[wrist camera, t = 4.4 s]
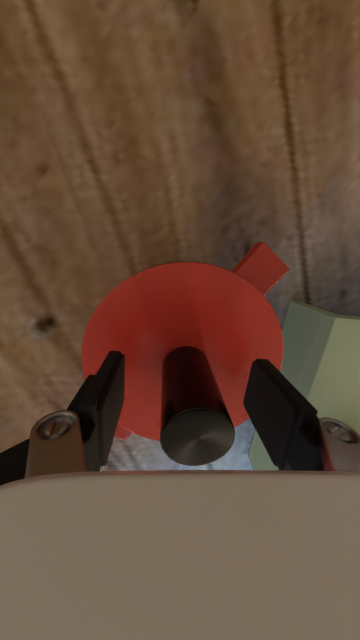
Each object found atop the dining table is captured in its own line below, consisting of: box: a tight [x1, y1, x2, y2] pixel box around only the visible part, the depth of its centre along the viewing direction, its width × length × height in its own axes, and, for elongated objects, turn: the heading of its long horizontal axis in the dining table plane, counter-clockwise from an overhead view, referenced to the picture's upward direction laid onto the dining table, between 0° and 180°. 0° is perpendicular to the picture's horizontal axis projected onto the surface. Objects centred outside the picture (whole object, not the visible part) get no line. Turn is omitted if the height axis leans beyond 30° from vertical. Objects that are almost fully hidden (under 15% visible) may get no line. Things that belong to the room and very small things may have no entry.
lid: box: [81, 262, 284, 466], centre depth 10 cm, size 12×12×6 cm
